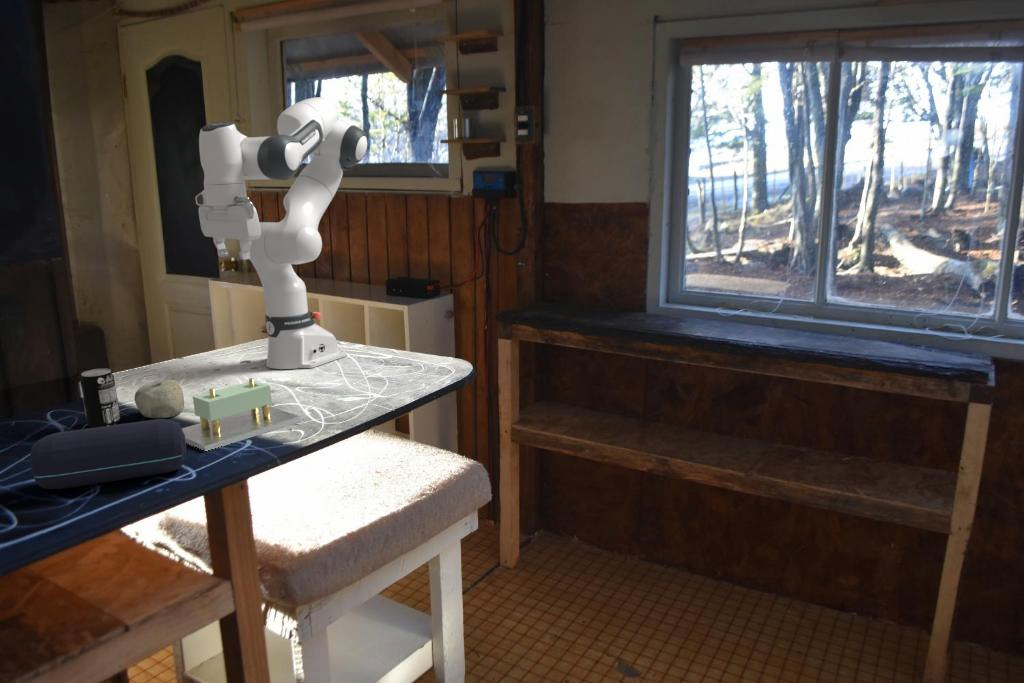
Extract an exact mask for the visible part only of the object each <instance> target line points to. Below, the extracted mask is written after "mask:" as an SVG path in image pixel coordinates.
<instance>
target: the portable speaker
mask: <svg viewBox="0 0 1024 683" xmlns="http://www.w3.org/2000/svg"><path fill="white" fill-rule="evenodd" d="M186 452H187V444H186V440H185V434H184V432H183V430H182V426H181V424H180V423H179V422H178V421H174V420H171V419H167V418H155V419H150V420H149V419H148V420H141V421H136V422H135V421H134V422H127V423H120V424H116V425H111V426H104V427H102V426H101V427H96V428H92V427H90V428H88V427H87V428H83V429H82V428H81V429H74V430H68V431H62V432H61V431H60V432H54V433H52V434H51V433H50V434H48V435H45V436H44V437H42V438H40V439H39V440H36V441H35V442H34V443H33V444H32V446H31V447H30V456H29V462H30V464H29V465H30V469H31V474H32V476H33V479H34V481H35V482H36V484H37V485H38V486H39V487H40V488H42V489H47V490H66V489H71V488H78V487H83V486H84V487H85V486H91V485H97V484H103V483H109V482H110V483H111V482H115V481H122V480H128V479H137V478H143V477H149V476H154V475H160V474H161V475H163V474H168V473H171V472H174V471H176V470H178V469H180V468H182V465H183V461H184V460H185V457H186V455H187V453H186Z"/></svg>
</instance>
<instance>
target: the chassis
mask: <svg viewBox="0 0 1024 683" xmlns="http://www.w3.org/2000/svg"><path fill="white" fill-rule="evenodd" d="M254 381H255V379H254V378H248V382H249V385H250V388H252V387H255V386H254ZM215 391H216V390H215V388H209V392H210V398H215ZM199 418H200V419H199V420H200V423H196V424H192V425H190V426H187V427H183V428H182V427H181V428H182V430H183V432H184V434H185V440H186V443H187V444H186V445H188V444H189V446H190V447H193V446H194V447H193V448H195V447H197V448H196V449H198V448H199V450H200V449H201V450H200V451H202V450H204V451H203V452H205V451H207V452H209V451H208V450H210V451H212V450H211V449H213V450H215V448H216V449H218V447H219V448H221V446H222V447H225V446H228V445H231V443H232V444H234V443H238V442H240V441H243V440H247V439H249V438H253V437H256V436H259V435H263V434H266V433H270V432H272V431H274V430H275V431H276V430H279V429H281V428H285V427H288V426H291V425H293V424H298V423H301V421H302V420H301V416H300V415H298V414H294V413H291V412H288V411H285V410H282V409H279V408H276V407H273V406H270V404H268V405H265V406H261V407H258V408H254V409H251V410H248V411H244V412H241V413H237V414H234V415H230V416H227V417H224V418H220V419H217V420H213V421H210V420H207V419H204V418H202V417H199Z"/></svg>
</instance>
